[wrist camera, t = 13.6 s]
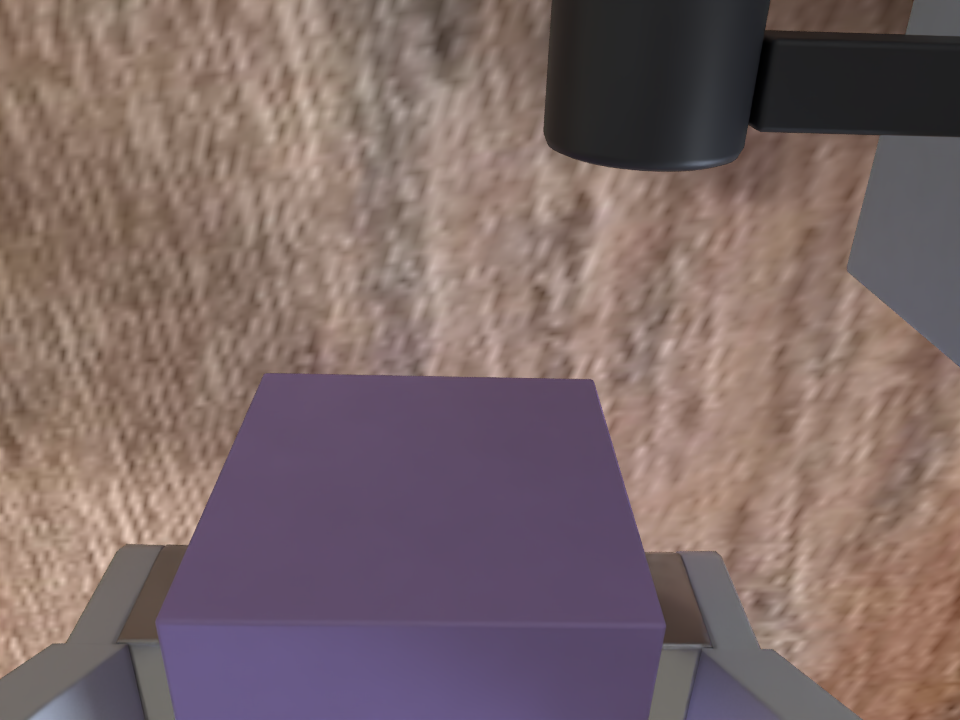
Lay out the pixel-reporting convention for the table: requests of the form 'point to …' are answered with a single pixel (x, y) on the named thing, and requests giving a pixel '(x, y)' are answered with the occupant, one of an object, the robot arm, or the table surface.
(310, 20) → the table surface
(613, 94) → the drawer
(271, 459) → the purple cube
